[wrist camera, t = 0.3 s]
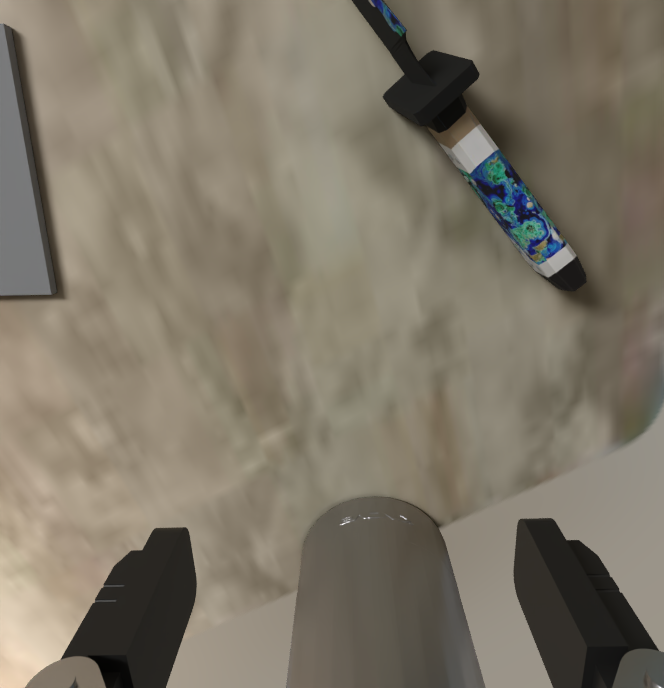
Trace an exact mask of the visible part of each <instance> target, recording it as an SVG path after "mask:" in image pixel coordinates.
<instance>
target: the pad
mask: <svg viewBox="0 0 664 688" xmlns="http://www.w3.org/2000/svg"><path fill="white" fill-rule="evenodd" d="M54 293H57V289H56V283H55V277H54V272H53V266H52V260H51V254H50V249H49V243H48V237H47V231H46V226H45V220H44V214H43V208H42V202H41V197H40V191H39V185H38V179H37V174H36V168H35V162H34V156H33V150H32V145H31V139H30V133H29V127H28V122H27V116H26V110H25V104H24V99H23V93H22V87H21V81H20V75H19V70H18V64H17V58H16V52H15V47H14V41H13V35H12V29H11V27H9V26H7V25H5V24H0V295H51V294H54Z"/></svg>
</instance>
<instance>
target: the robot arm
mask: <svg viewBox="0 0 664 688" xmlns="http://www.w3.org/2000/svg"><path fill="white" fill-rule="evenodd" d="M514 583H515V589H516V593H517V597H518V600H519V602H520V605H521V608H522V610H523V613H524V615H525V617H526V620H527V623H528V625H529V627H530V630H531V632H532V635H533V638H534V640H535V643H536V645H537V648H538V650H539V652H540V655H541V658H542V660H543V663H544V665H545V668H546V670H547V673H548V675H549V678H550V680H551V683H552V685H553V688H664V652H661V651H659V650H658V648H657V647H656V645H655V644H654V642H653V641H652V639H651V637H650V636H649V634H648V633H647V631H646V630H645V628H644V627H643V625H642V623H641V622H640V620H639V619H638V617H637V616H636V614H635V613H634V611H633V609H632V608H631V606H630V605H629V603H628V602H627V600H626V599H625V597H624V596H623V594H622V593H620V592H619V588H618V586H617V585H616V583H615V582H614V580H613V579H612V577H610V575H609V572H608V571H607V569H606V568H605V566H604V564H603V563H602V561H601V560H600V558H599V557H598V556H597V555H596V554H595V553H594V552H593V551H591V550H590V549H589V548H588V547H586V546H585V545H584V544H583V543H582V542H580V541H579V540H566V539H565V537H564V536H563V534H562V532H561V531H560V529H559V527H558V525H557V524H556V522H555V521H554V520H553V519H551V518H542V519H541V518H539V519H520V520H519V522H518V525H517V536H516V549H515V561H514ZM196 587H197V582H196V573H195V566H194V560H193V554H192V548H191V541H190V535H189V531H188V529H187V528H186V527H183V528H155V529H154V530H153V531H152V533H151V535H150V537H149V539H148V541H147V543H146V545H145V546H144V548H143V550H139V551H130V552H129V553H128V554H127V555H126V556H125V557H124V558H123V559H122V560H121V561H119V562H118V563H117V564H116V565H115V566H114V567H113V569H112V571H111V573H110V574H109V576H108V578H107V580H106V581H105V583H104V587H103V588H101V590H100V592H99V593H98V595H97V597H96V599H95V603H93V604H92V606H91V607H90V609H89V611H88V613H87V614H86V616H85V618H84V620H83V621H82V623H81V625H80V627H79V628H78V630H77V632H76V634H75V635H74V637H73V639H72V641H71V642H70V644H69V646H68V648H67V649H66V651H65V653H64V655H63V656H62V658H61V660H59V661H57V662H54V663H52V664H51V665H49V666H47V667H46V668H44V669H43V670H41V671H40V672H39V673H38V674H37V675H35V676H34V677H33V678H32V679H31V680H30V682H29V683H28V684H27V685H26V687H25V688H166V685H167V682H168V679H169V676H170V673H171V671H172V668H173V664H174V662H175V659H176V656H177V653H178V650H179V647H180V644H181V641H182V638H183V635H184V633H185V630H186V627H187V624H188V621H189V618H190V615H191V612H192V609H193V606H194V602H195V597H196ZM286 688H485V684H484V681H483V677H482V674H481V670H480V667H479V663H478V659H477V656H476V653H475V649H474V645H473V642H472V638H471V634H470V631H469V627H468V624H467V620H466V617H465V613H464V610H463V606H462V602H461V599H460V595H459V591H458V587H457V584H456V580H455V576H454V573H453V569H452V566H451V562H450V559H449V555H448V551H447V548H446V545H445V541H444V539H443V537H442V535H441V532H440V530H439V529H438V527H437V526H436V525H435V524H434V522H433V521H432V520H431V519H430V518H429V517H428V516H427V515H426V514H424V513H423V512H422V511H421V510H419V509H418V508H416V507H414V506H412V505H410V504H408V503H406V502H403V501H399V500H396V499H392V498H386V497H364V498H357V499H353V500H350V501H347V502H343V503H341V504H339V505H338V506H336V507H334V508H332V509H330V510H329V511H327V512H326V513H325V514H324V515H323V516H321V517H320V518H319V519H318V520H317V521H316V523H315V524H314V525H313V526H312V528H311V529H310V531H309V533H308V535H307V537H306V539H305V541H304V546H303V551H302V558H301V566H300V575H299V583H298V592H297V598H296V606H295V615H294V624H293V632H292V641H291V649H290V658H289V666H288V674H287V683H286Z"/></svg>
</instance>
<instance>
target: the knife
mask: <svg viewBox="0 0 664 688" xmlns="http://www.w3.org/2000/svg"><path fill="white" fill-rule="evenodd" d="M352 1H353V3H354V4H355V5H356V7H357V8H358V10H359V11H360V12H361V14H362V15H363V16H364V18H365V19H366V20H367V22H368V23H369V24H370V26H371V27H372V28H373V30H374V31H375V33H376V34H377V35H378V37H379V38H380V39H381V41H382V42H383V43H384V45H385V46H386V47H387V49H388V50H389V51H390V53H391V55H392V56H393V58H394V59H395V61H396V62H397V63H398V65H399V66H400V68H401V69H402V71H403V72H404V73H405V75H404V76H403V77H401V78H400V79H399V80H398V81H397V82H396V83H395V84H394V85H393V86H392V87H391V88H390V89H389V90H387V91H386V92H385V94H384V96H383V98H384V100H385V101H386V103H387V104H388V106H389V107H391V108H392V109H394V110H395V111H397V112H399V113H400V114H402V115H404V116H405V117H407V118H409V119H410V120H412V121H413V122H415V123H417V124H418V125H420V126H423V125H426V126H427V128H428V129H429V131H430V132H431V133H432V135H433V136H434V137H435V139H436V140H437V141H438V143H439V144H440V145H441V147H442V148H443V149H444V151H445V152H446V153H447V155H448V157H449V158H450V159H451V160H452V162H453V163H454V164H455V166H456V167H457V168H458V170H459V171H460V172H461V174H462V175H463V176H464V178H465V180H466V181H467V182H468V183H469V184H470V186H471V187H472V188H473V190H474V191H475V193H476V194H477V195H478V197H479V198H480V199H481V201H482V202H483V203H484V205H485V206H486V207H487V209H488V210H489V211H490V213H491V214H492V215H493V217H494V218H495V219H496V221H497V222H498V223H499V225H500V226H501V228H502V229H503V230H504V232H505V233H506V234H507V236H508V237H509V238H510V240H511V241H512V242H513V244H514V246H515V247H516V248H517V249H518V250H519V252H520V253H521V254H522V256H523V257H524V259H525V260H526V261H527V263H528V264H529V265H530V266H531V267H532V268H533V269H534V270H535V271H536V272H537V273H539V274H540V275H541V276H542V277H544V278H545V279H546V280H548V281H549V282H550V283H551V284H553V285H554V286H555V287H557V288H558V289H561V290H566V291H576V290H577V289H578V288H580V287H581V286H582V285H583V284H585V283H586V274H585V272H584V270H583V268H582V266H581V263H580V261H579V259H578V257H577V255H576V254H575V253H574V251H573V250H572V248H571V247H570V246H569V244H568V243H567V241H566V240H565V239H564V237H563V236H562V235H561V233H560V232H559V230H558V229H557V228H556V226H555V225H554V224H553V222H552V221H551V220H550V218H549V217H548V215H547V214H546V213H545V211H544V210H543V209H542V207H541V206H540V205H539V203H538V202H537V200H536V199H535V198H534V196H533V195H532V194H531V192H530V191H529V189H528V188H527V187H526V185H525V184H524V183H523V181H522V180H521V179H520V177H519V176H518V174H517V173H516V172H515V170H514V169H513V168H512V166H511V165H510V163H509V162H508V161H507V159H506V158H505V157H504V155H503V154H502V153H501V151H500V150H499V148H498V147H497V146H496V144H495V143H494V142H493V140H492V139H491V138H490V136H489V135H488V133H487V132H486V131H485V129H484V128H483V127H482V125H481V124H480V123H479V121H478V120H477V118H476V117H475V116H474V114H473V113H472V112H471V110H470V109H469V108H468V106H467V105H466V102H465V100H464V98H463V96H462V93H463V92H464V91H465V90H466V89H467V88H468V87H469V86H470V85H472V84H473V83H474V82H475V81H476V80H477V79H478V77H479V72H478V70H477V68H476V67H475V65H474V63H473V61H472V60H469V59H465V58H461V57H457V56H453V55H449V54H446V53H442V52H438V51H434V50H433V51H431V52H429V53H427V54H426V55H425V56H424V57H423V58H422V59H421V60H420V61H419V62H418V61H417V59H416V57H415V56H414V54H413V52H412V50H411V48H410V47H409V45H408V42H407V40H406V31H407V30H406V28H405V27H404V26H403V25H402V23H401V22H400V21H399V20H398V18H397V17H396V16H395V15H394V13H393V12H392V11H391V10H390V9H389V7H388V6H387V5H386V4H385V2H384V1H383V0H352Z"/></svg>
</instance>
